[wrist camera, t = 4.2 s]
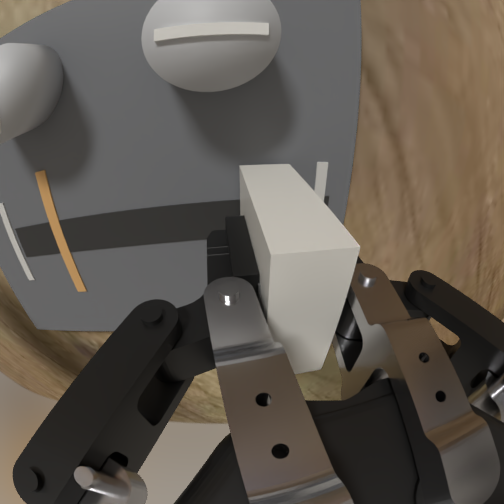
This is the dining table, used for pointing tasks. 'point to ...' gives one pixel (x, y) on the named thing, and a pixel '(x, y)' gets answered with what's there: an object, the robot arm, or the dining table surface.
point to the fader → (297, 260)
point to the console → (159, 140)
